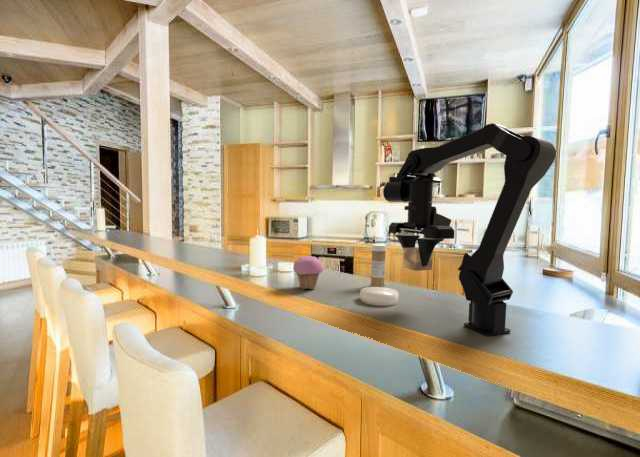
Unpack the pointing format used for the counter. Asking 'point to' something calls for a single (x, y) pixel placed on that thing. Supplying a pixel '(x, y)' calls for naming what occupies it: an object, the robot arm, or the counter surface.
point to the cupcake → (308, 271)
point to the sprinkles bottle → (378, 265)
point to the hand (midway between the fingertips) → (417, 264)
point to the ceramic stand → (379, 296)
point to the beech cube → (415, 260)
